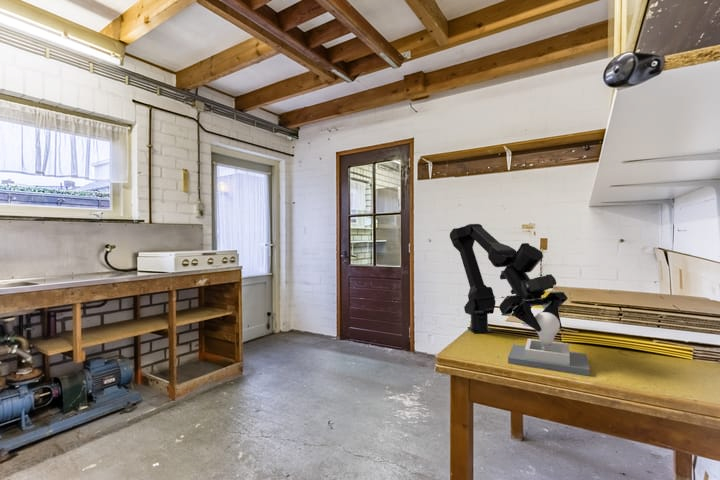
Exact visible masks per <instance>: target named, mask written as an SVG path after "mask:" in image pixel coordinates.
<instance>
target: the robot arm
mask: <svg viewBox="0 0 720 480" xmlns="http://www.w3.org/2000/svg"><path fill="white" fill-rule="evenodd" d="M449 238H450V241H451V243H452V246H453V247H454V248H455V249H456V250H457V251H458V252H459V255H460V258H461V260H462V264H463V267H464V273H465V275H466V278H467V281H468V285H469V291H468V294H467V298H468V300H467V302H466V303H465V305H464V306H463V308H464V313H465V314H467V315H470V326H467V330H469V331H470V332H471V333H473V334H484V333H488V334H489V333H493V331H492V329H490V328H489V323H488V322H489V321H488V320H489V317H488V315H493V314H494V312H495V307H496V303H497V302H496V299H495V298H496V296H495V295H494V292H493V291H494V290H493V288H492V286H487V285H486V284H485V282H484V279H483V276H482V273H481V270H480V267H479V263H478V260H477V257H476V254H475V251H474V244H475V242H476V243H478V245H479V246H480V247H481V248H482V249H483V250H485V252H486V253H487V258H488V260H489V261H490V263H491V265H492V266H493V267H495V268H504V269H503V270H501V271H500V275H499V279H500V280H506V281H507V282H508V285H509V286H510V288H511V290H510V293H511V295H506V297H505V298H504V299H502V301H501V303H500V304H499V311H500V312H501V315H502V316H505V315H511V316H512V317H515V318H517V319H519V321H522V322H523V323H525V324H526V325H528V326H529V327H530V328H532V329H533V330H534V331H535V332H536V331H538V332H540V331H541V327H540V325H539V323H538V322H537V320H536V318H535V315H534V313H533V311H532V307H534V306H535V307H536V306H541V307H542V308H543V311H541V312H549V313H551V314H553V315H555V316H556V317H557V318H558V320H559V323H560V329H559V330H561V329H562V328H563V325H562V322H561V319H560V318H561V317H560V314H559V308H560V307H561V306H562V305H563V304H564V303H565V302H566V301H567V300H568V299H569V298H568V296H567V295H566V293H565V292H564V291H551V292H549V293H548V294H547V295H546V296H545V297H542V296H544V295H545V294H546V290H551V289H554V286H557V280H556V278H555V276H553V275H552V274H545V275H543V276H537V277H534V278H530V277H529V275H528V274H527V273H531V272H532V271H533V270H534V269H535V268H536V267H537V265H538V264H539V263H540V262H541V261H542V259H543V258H544V254H543V252H542V251H541V250H540V249H538V248H537V247H535V246H533V245H530V243H528V242H526V243H525V242H523V243H521V244H520V246H519V248H518V249H517V250H516V249H515V248H513V247H511V246H510V245H507V244H503V243H501V242H499V240H497V239H495V237H493V236H492V235H491V234H490V233H489V232H488V231H487V230H486V229H485V228H484V227H483V225H482V224H480V223H469V224H466V225H465V226H464V225H463V226H461V227H456V228H455V227H454V228H453V229H452V230H451V231H450V232H449Z"/></svg>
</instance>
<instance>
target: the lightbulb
mask: <svg viewBox="0 0 720 480" xmlns="http://www.w3.org/2000/svg"><path fill="white" fill-rule="evenodd" d="M534 317H535V318H536V320H537V322H538V323H539V325H540V327H541V331H540V332H538V331H536V330H535V332H536V333H537V335H538V338H539V340H540V341H541V350H542V351H550V352H552V351H553V350H552V342H554V340H555V337H556V335H557V334H558V332H559V330H561V329H560V323H559V320H558V318H557V317H556V316H555V315H553V314H551V313H549V312H542V311H541V312H538V313H537V314H536V315H534Z"/></svg>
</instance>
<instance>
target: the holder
mask: <svg viewBox="0 0 720 480" xmlns="http://www.w3.org/2000/svg"><path fill="white" fill-rule="evenodd" d="M552 350H553V351H552V352H550V351H542V350H541V341H540V339H532V338H527V341H526V344H525V345H523V344H522V345H520V344H512V346H511V348H510V351H509V354H508V357H507V363H508V364H510V365H511V364H512V365H518V366H523V367H528V368H529V367H530V368H537V369H545V370H548V371H549V370H550V371H556V372H560V373H561V372H562V373H568V374H573V375H575V374H576V375H582V376H587V377H588V376H589V377H590V375H591V372H590V365H589V360H588V356H587V353H582V352H576V351H575V352H574V351H570V346H569V343H567V342H560V341H559V342H558V341H553V342H552Z"/></svg>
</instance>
